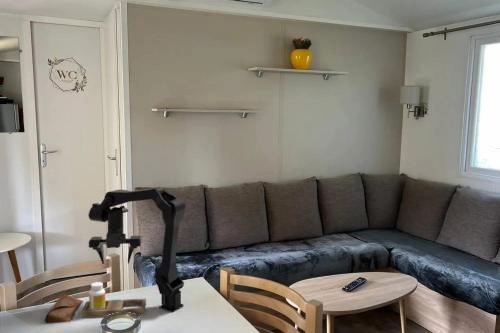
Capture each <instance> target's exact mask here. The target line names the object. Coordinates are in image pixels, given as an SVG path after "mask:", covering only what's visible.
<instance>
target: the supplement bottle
mask: <svg viewBox="0 0 500 333" xmlns="http://www.w3.org/2000/svg"><path fill="white" fill-rule="evenodd" d="M105 300H106V290H105V289H104V285H103V282H101V281H96V282H93V283H91V284H90V290H89V291H88V301H89V308H88V310H105Z"/></svg>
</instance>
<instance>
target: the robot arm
mask: <svg viewBox="0 0 500 333" xmlns="http://www.w3.org/2000/svg"><path fill="white" fill-rule="evenodd" d="M146 200H148V201H149V200H152V201H153V203H155V205H156V207H157V208H158V209H159V210H160V211H161V216H162V220H163V223H164V236H163V245H162V246H163V247H162V253H161V255H162V257H161V262H160V264H159V265H157V266H155V268H154V276H153V279H154V282H155V284H156V286H157V288H158V292H159V294H160V295H161V305H160V306H159V309H162V310H165V311H167V312H168V311H169V312H171V313H174V312H175V311H178V310H179V309H181V308H182V307H184V304H183V303H182V291H181V289H183V287H184V286H185V282H184V280H182V278H181V276H180V275H179V268H178V266H177V263H176V257H177V255H176V254H177V248H178V237H179V229H180V228H179V226H180V224H181V221H182V219H183V217H184V215H185V211H186V204H185V203H184V201H183V200H181V199H179V198H178V197H176V195H174V194H172V193H170V192H168V191H167V190H165V189H164V188H163V187H160V186H157V187H154V188H145V189H138V190H127V189H114V190H111V191H106V193H105V195H104V199H103V200H101V201H102V202H100V203H99V202H96V203H92V206H91V208H90V209H89V211H88V219H89V220H90V221H91V222H92V221H94V222H99V223H106V222H107V233H106V236H105V238H103V237H102V236H91V237H90V239H89V241H88V248H89V249H91V248H92V251H93V250H95V251H96V252H97V254H98V256H99V258H100V261H101V264H102V265H104V264H105V254H104V245H105V246H106V249H113V248H114V249H119V248H120V247H121V245H123V244H124V245H127V244H129V246H128V254H127V264H130V261H131V258H132V254H133V253H134V251H135V249H137V248H138V247H141V246H142V236H141V235H130V237H129V238H127V235H126V233H124V214H125V213H127V212H129V209H128V208H126V207H125V205H124V204H127V203H130V202H138V201H139V202H140V201H146ZM118 206H119V207H118Z"/></svg>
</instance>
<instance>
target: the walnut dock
mask: <svg viewBox="0 0 500 333" xmlns="http://www.w3.org/2000/svg"><path fill="white" fill-rule="evenodd" d="M146 305H147V298H130V299H126V298H125V299H111V300H110V299H109V300H106V299H105V310H89V300H88V301H87V300H86V301H85V303H84V305H83V308H82V310H81V311H80V313H81V314H80V318H100V317H108V316H107V315H109V314H112V313H116V312H131V313H135V314H137V315H136V316H139V315H142V316H143V315H145V311H146V307H147V306H146ZM126 306H127V307H128V306H130V307H131V306H141V307H137V308H136V307H134V308H133V307H132V308H124V307H126Z"/></svg>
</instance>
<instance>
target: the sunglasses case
mask: <svg viewBox="0 0 500 333" xmlns="http://www.w3.org/2000/svg"><path fill="white" fill-rule="evenodd" d="M82 303H84V300H82V299H79V298H76V297H72V296H71V295H67V294H66V293H62V294H61V295H60V297H59V298H58V299H57V301H56V302H55V303H54V304H53V305H52V306H51V308H50V309H49V311H48V312H47V314H46V315H45V318H44V320H45V321H44V322H46V324H53V323H55V324H56V323H68V322H70V323H71V322H72V319H73V317H74V315H75V313H76V312H77V310H78V309H79V307H80V306H81V305H82Z"/></svg>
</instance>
